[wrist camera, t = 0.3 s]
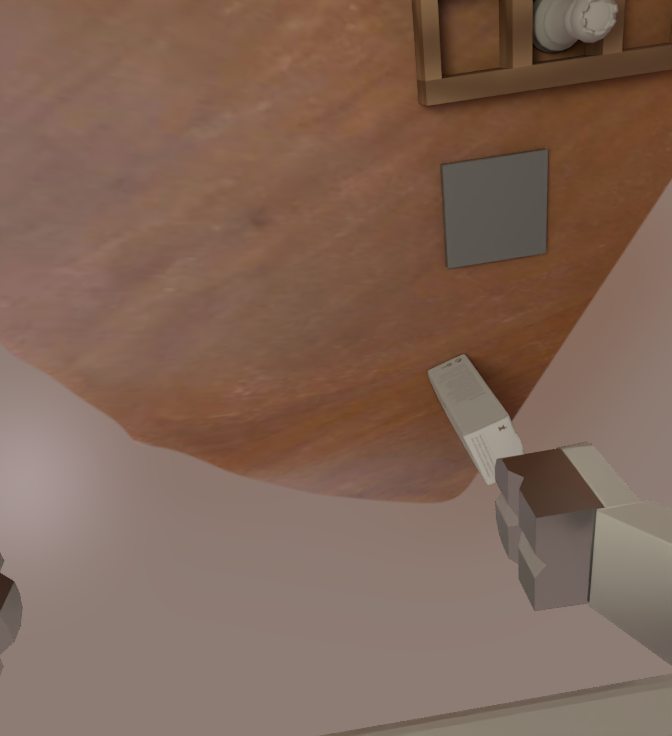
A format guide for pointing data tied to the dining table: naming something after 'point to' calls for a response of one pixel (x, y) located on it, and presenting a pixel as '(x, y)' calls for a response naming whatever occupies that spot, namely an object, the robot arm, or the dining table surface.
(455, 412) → the skincare box
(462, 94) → the three-compartment wooden tray
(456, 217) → the coaster
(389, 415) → the dining table surface
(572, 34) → the rook chess piece
